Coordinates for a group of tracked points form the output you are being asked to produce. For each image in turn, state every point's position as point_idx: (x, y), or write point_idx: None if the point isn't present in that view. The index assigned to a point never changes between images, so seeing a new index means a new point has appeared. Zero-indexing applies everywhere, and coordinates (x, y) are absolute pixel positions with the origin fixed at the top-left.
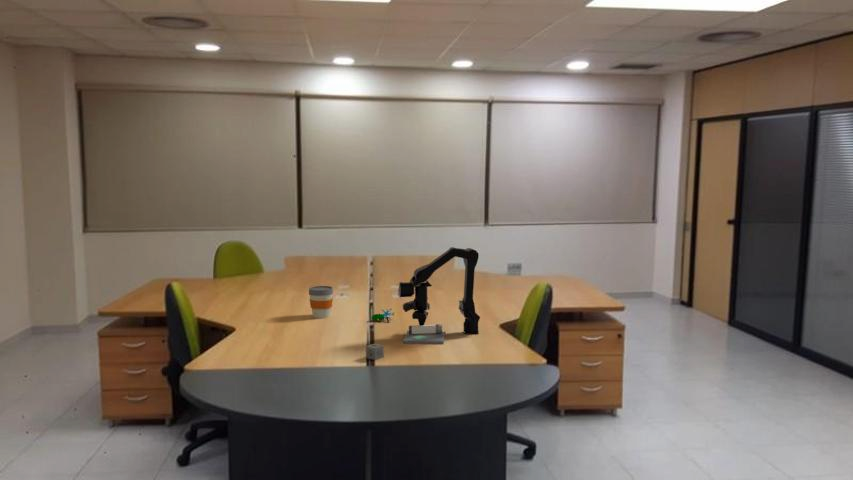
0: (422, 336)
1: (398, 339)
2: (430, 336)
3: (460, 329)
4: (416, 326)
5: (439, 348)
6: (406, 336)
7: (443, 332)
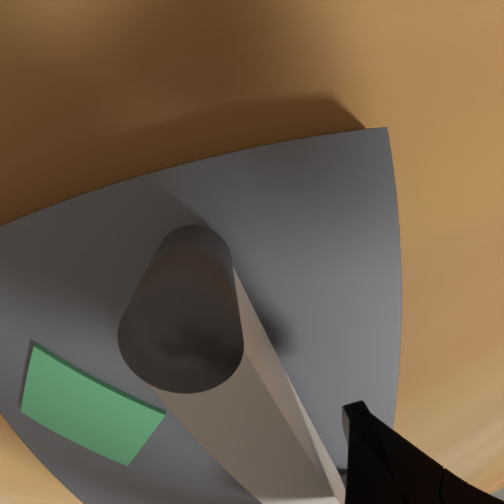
0: (134, 436)
1: (20, 123)
2: (191, 479)
3: (467, 466)
4: (215, 454)
5: (31, 495)
6: (46, 237)
7: None
